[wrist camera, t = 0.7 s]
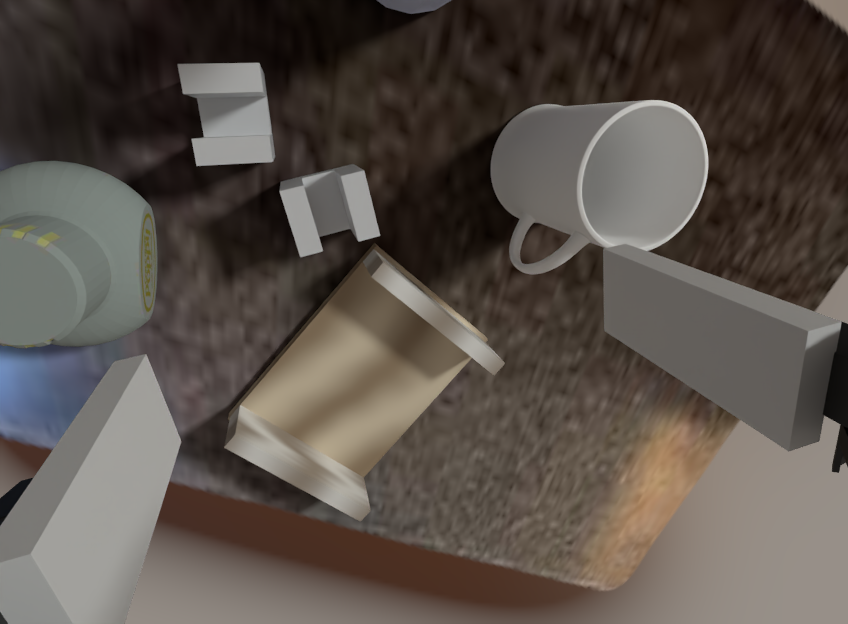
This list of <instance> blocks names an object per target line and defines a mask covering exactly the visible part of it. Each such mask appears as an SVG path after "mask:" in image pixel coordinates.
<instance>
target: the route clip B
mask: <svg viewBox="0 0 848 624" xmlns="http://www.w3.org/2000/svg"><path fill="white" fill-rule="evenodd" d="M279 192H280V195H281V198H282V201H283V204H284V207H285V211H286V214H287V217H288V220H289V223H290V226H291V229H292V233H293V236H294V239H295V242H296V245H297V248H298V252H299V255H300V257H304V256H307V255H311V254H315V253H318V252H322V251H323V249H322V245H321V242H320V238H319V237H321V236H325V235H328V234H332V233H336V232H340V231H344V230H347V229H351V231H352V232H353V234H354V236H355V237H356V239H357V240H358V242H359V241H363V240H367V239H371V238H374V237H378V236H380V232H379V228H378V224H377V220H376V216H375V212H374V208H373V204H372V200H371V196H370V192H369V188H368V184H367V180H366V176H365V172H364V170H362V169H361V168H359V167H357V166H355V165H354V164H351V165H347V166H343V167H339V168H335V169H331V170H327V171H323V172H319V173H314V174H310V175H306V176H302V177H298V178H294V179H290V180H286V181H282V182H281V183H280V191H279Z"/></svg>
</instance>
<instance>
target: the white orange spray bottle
mask: <svg viewBox="0 0 848 624" xmlns="http://www.w3.org/2000/svg"><path fill="white" fill-rule="evenodd" d="M377 1H378V2H380V3H381V4H382V5H384V6H385V7H386V8H390V9H394V10H398V11H401V12H405V13H409V14H414V13H421V12H428V11H435V10H436V9H438V8H440V7H441V6H443V5H444V4H446V3H448V2H449V1H451V0H377Z"/></svg>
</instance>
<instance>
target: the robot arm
mask: <svg viewBox="0 0 848 624" xmlns="http://www.w3.org/2000/svg"><path fill="white" fill-rule="evenodd" d="M603 259H604V331H606V332H607V333H609V334H610V335H612V336H613V337H615V338H616V339H618V340H620V341H621V342H623V343H624V344H626V345H627V346H629V347H630V348H632V349H633V350H635V351H636V352H638V353H639V354H641V355H642V356H644V357H645V358H647V359H649V360H650V361H652V362H653V363H655V364H656V365H658V366H659V367H661V368H662V369H664V370H665V371H667V372H668V373H670V374H671V375H673V376H674V377H676V378H678V379H679V380H681V381H682V382H684V383H685V384H687V385H688V386H690V387H691V388H693V389H694V390H696V391H697V392H699V393H700V394H702V395H703V396H705V397H707V398H708V399H710V400H711V401H713V402H714V403H716V404H717V405H719V406H720V407H722V408H723V409H725V410H726V411H728V412H729V413H731V414H732V415H734V416H735V417H737V418H739V419H740V420H742V421H743V422H745V423H746V424H748V425H749V426H751V427H753V428H754V429H755V430H757V431H759V432H760V433H761V434H763V435H765V436H766V437H768V438H769V439H771V440H772V441H774V442H775V443H777V444H778V445H780V446H781V447H783V448H784V449H786V450H787V451H791V450H794V449H798V448H800V447H803V446H806V445H809V444H812V443H815V442H818V441H819V440H820V434H821V429H822V423H823V418H824V415H825V416H826V417H828V418H830V419H832V420H834V421H836V422H837V423H839V424H841V425H840V430H839V435H838V440H837V445H836V450H835V455H834V459H833V464H832V472H838V473H839V470H840V465H842V464H844V463H846V464H847V466H848V324H847V323H844V322H841V321H839V320H836V319H833V318H830V317H827V316H825V315H822V314H819V313H816V312H814V311H811V310H808V309H805V308H803V307H800V306H797V305H794V304H792V303H789V302H786V301H783V300H780V299H778V298H775V297H772V296H769V295H767V294H764V293H761V292H758V291H756V290H753V289H750V288H747V287H744V286H742V285H739V284H736V283H733V282H731V281H728V280H725V279H722V278H720V277H717V276H714V275H711V274H709V273H706V272H703V271H700V270H697V269H695V268H692V267H689V266H686V265H684V264H681V263H678V262H675V261H673V260H670V259H667V258H664V257H662V256H659V255H656V254H653V253H650V252H648V251H645V250H642V249H639V248H637V247H634V246H631V245H628V244H622V245H617V246H613V247H609V248H604V249H603ZM180 444H181V439H180V437H179V434H178V432H177V429H176V427H175V424H174V422H173V420H172V417H171V415H170V412H169V410H168V407H167V405H166V402H165V400H164V397H163V395H162V392H161V390H160V387H159V385H158V382H157V380H156V377H155V375H154V372H153V370H152V367H151V365H150V363H149V360H148V358H147V355H146V354H144V355H140V356H136V357H131V358H127V359H123V360H118V361H114V362H113V364H112V365H111V367H110V368H109V370H108V371H107V373H106V374H105V375H104V377H103V378H102V380H101V381H100V383H99V384H98V386H97V387H96V388H95V390H94V391H93V393H92V394H91V396H90V397H89V399H88V400H87V401H86V403H85V404H84V406H83V407H82V409H81V410H80V412H79V413H78V414H77V416H76V417H75V419H74V420H73V422H72V423H71V425H70V426H69V427H68V429H67V430H66V432H65V433H64V435H63V436H62V438H61V439H60V440H59V442H58V443H57V445H56V446H55V448H54V449H53V451H52V452H51V454H50V455H49V456H48V458H47V459H46V461H45V462H44V464H43V465H42V466H41V468H40V470H39V471H38V472H37V474H36V475H35V477H34V478H31V479H27V480H23V481H21V482H19V483H18V484H17V485H16V486H14V487H13V488H12V489H11V490H10V491H9V492H7V493H6V494H5V495H4V496H3V497H1V498H0V624H125V620H126V617H127V614H128V611H129V608H130V604H131V601H132V598H133V595H134V592H135V589H136V586H137V582H138V579H139V576H140V572H141V569H142V566H143V563H144V560H145V557H146V553H147V550H148V547H149V544H150V540H151V537H152V534H153V531H154V528H155V525H156V521H157V518H158V515H159V512H160V508H161V505H162V502H163V499H164V496H165V492H166V489H167V486H168V483H169V480H170V476H171V473H172V470H173V467H174V464H175V460H176V457H177V454H178V451H179V448H180Z"/></svg>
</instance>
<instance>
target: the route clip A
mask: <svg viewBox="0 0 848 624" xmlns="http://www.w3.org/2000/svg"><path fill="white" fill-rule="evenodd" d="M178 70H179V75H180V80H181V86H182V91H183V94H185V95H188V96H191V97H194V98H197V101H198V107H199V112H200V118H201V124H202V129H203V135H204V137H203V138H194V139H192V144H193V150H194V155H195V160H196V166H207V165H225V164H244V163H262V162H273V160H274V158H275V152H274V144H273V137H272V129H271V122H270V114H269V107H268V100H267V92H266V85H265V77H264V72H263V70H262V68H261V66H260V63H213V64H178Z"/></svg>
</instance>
